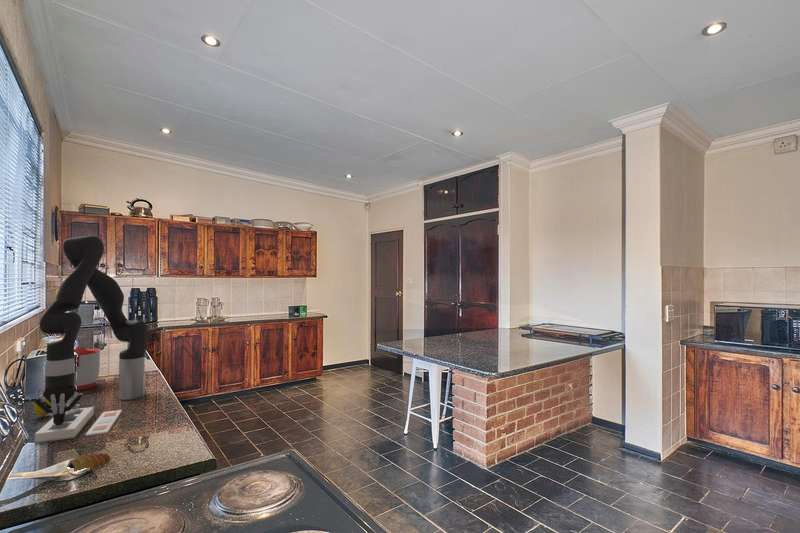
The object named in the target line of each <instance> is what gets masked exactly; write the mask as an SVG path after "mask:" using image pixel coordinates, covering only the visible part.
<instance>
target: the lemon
mask: <svg viewBox="0 0 800 533" xmlns="http://www.w3.org/2000/svg"><path fill="white" fill-rule="evenodd" d="M45 399H46V398H45ZM46 402H47V403H48V404H49V405H50V406H51V403H50V402H49V401H48V400H47V399H46ZM51 407H52V406H51ZM33 410H34V413H35V414H36V415H37V416H41V417H43V418H44V417H46V416H47V415H48V414H50V413H46V412H45V411H44V410H43V409H41V408H40V407H39V406H38V405H37V404H36V403H35V402H34V405H33Z"/></svg>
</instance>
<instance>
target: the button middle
mask: <svg viewBox="0 0 800 533" xmlns="http://www.w3.org/2000/svg"><path fill="white" fill-rule="evenodd" d="M74 416H75V412H73V411H71V412H66V420H65V421H64V422H66V421H74Z"/></svg>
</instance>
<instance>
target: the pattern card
mask: <svg viewBox="0 0 800 533" xmlns="http://www.w3.org/2000/svg"><path fill="white" fill-rule="evenodd" d="M122 412H123V409H117V410H109V411H103V412H102V413H101V415H100V416H99V417H98V418H97V420H95V422H94V423H93V424H92V425H91V427H90V428H89V429H88V431H87V432H86V433H85V437H89V436H90V437H91V436H97V435H103V434H104V433H105V434H108V433H109V431H111V428H112V427H113V426H114V425H115V422H116V421H117V420H118V418H119V417H120V415H121V414H122Z"/></svg>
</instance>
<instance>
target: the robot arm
mask: <svg viewBox="0 0 800 533" xmlns="http://www.w3.org/2000/svg"><path fill="white" fill-rule="evenodd" d="M62 249H63V253H64V255H65V256H66V258H67V260H68V261H69V264H71V265H72V266H73V268H74V270H73V271H72V272H70V274H69V275H68V276H66V278H64V280H63V281H62V282H61V284H60V286H59V288H58V291H57V294H56V296H55V299H54V301H53V302H52V303H51V305H50V306H49V307H48V308H47V310H46V311H45V312H44V313H43V314H42V317H41V318H40V320H39V329H40V331H41V333H43V334H46V335H47V334H48V335H57V334H58V335H60V334H61V335H62V334H64V337H63V338H62V339H59V340H53V341H51V342H49V343H48V344H47V345H46V361H45V368H44V391H43V393H42V395H41V396H40V397H38V398H36V399H35V400H34V404H35V403H36V404H37V405H38V406H39V407H40V408H41V409H43V410H44V411H45V412H46V413H49V414H52V416H53V417H52V418H53V423H54V424H56V425H62V424H63V422H64V421H65V420H66V412H67V411H70V410H72V409H73V408H74V407H75V406H76V404H77V403H79V401H80V400H81V399H82V398H83V396H84V395H85V394H84V393H83V392H78V390H76V388H75V386H74V384H75V362H74V349H75V344H76V341H77V340H76V339H77V337H78V334H79V332H80V329H81V326H82V318H81V316H80V315H79V314H78V313H77V312H73V311H74V310H78V309H79V308H80V306H81V304H82V300H83V297H84V294H85V291H86V288H87V287H88V289H89V290H90V292H91V294H92V297H93V298H94V300H95V301H96V302H97V304H98V305H99V307H100V308H101V310H102V312H103V315H104V316H105V318H106V319H107V320H108V323H109V326H110V329H111V330H112V333H113V334H114V336H115V338H116V339H117V340H118V341H120V342H124V343H125V342H128V343H129V347H128V348H126V349H124V350H122V351H120V352H119V355H118V359H119V360H118V369H119V370H118V400H121V401H129V400H135V399H139V398H144V396H145V394H146V372H145V366H146V364H145V359H146V358H145V356H146V351H147V344H148V333H149V332H148V326H147V323H146V322H145V321H144V320H129V319H128V318H127V317H126V316H125V314H124V312H123V306H124V302H125V294H124V292H123V291H122V288H121V286H120V284H119V283H118V282H117V281H116V280H115V279H114V278H113V277H112V276H110V275H108V274H107V273H104V271H101V270H100V269H98V268H97V266H98V265H99V263H100V262H101V260H102V257H103V255H104V252H105V246H104V242H103V240H102V239H101V238H100V237H98V236H96V235H86V236H85V235H84V236H76V237H70V238H67V239H64V241H63V243H62ZM71 311H72V312H71ZM72 397H73V398H72ZM45 398H46V399H47V400H48V401H49V402H50V403H51V406H52V407H51V406H50V405H49V404H48V403H47V402H46V399H45ZM71 398H72V399H74V400H72V402H70V404H68V401H69V400H70V399H71Z"/></svg>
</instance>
